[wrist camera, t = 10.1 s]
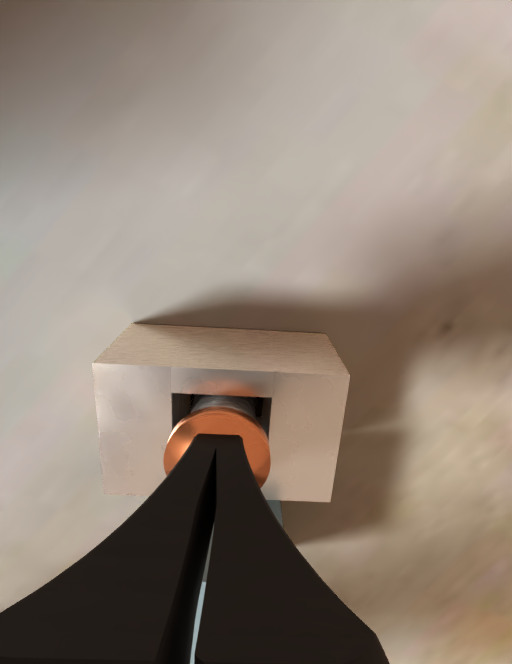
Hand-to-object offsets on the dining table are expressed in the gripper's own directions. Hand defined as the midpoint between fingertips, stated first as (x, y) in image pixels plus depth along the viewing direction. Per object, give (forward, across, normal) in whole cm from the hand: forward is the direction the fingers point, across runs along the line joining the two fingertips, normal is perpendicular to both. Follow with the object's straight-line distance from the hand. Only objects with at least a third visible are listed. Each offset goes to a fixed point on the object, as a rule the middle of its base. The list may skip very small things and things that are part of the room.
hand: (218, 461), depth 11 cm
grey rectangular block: (+5, 0, 0) cm, 5 cm away
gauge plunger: (+5, 0, 0) cm, 5 cm away
